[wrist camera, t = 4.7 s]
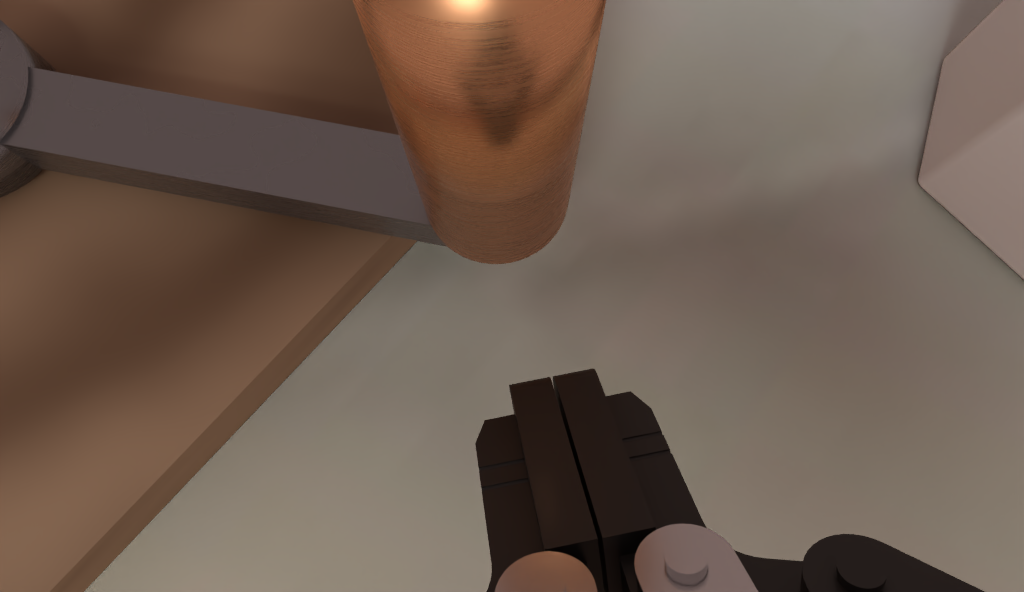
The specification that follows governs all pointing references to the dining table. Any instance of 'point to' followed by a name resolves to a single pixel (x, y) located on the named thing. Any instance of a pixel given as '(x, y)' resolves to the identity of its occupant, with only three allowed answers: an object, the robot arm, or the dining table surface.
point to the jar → (982, 134)
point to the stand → (162, 277)
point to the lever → (349, 129)
